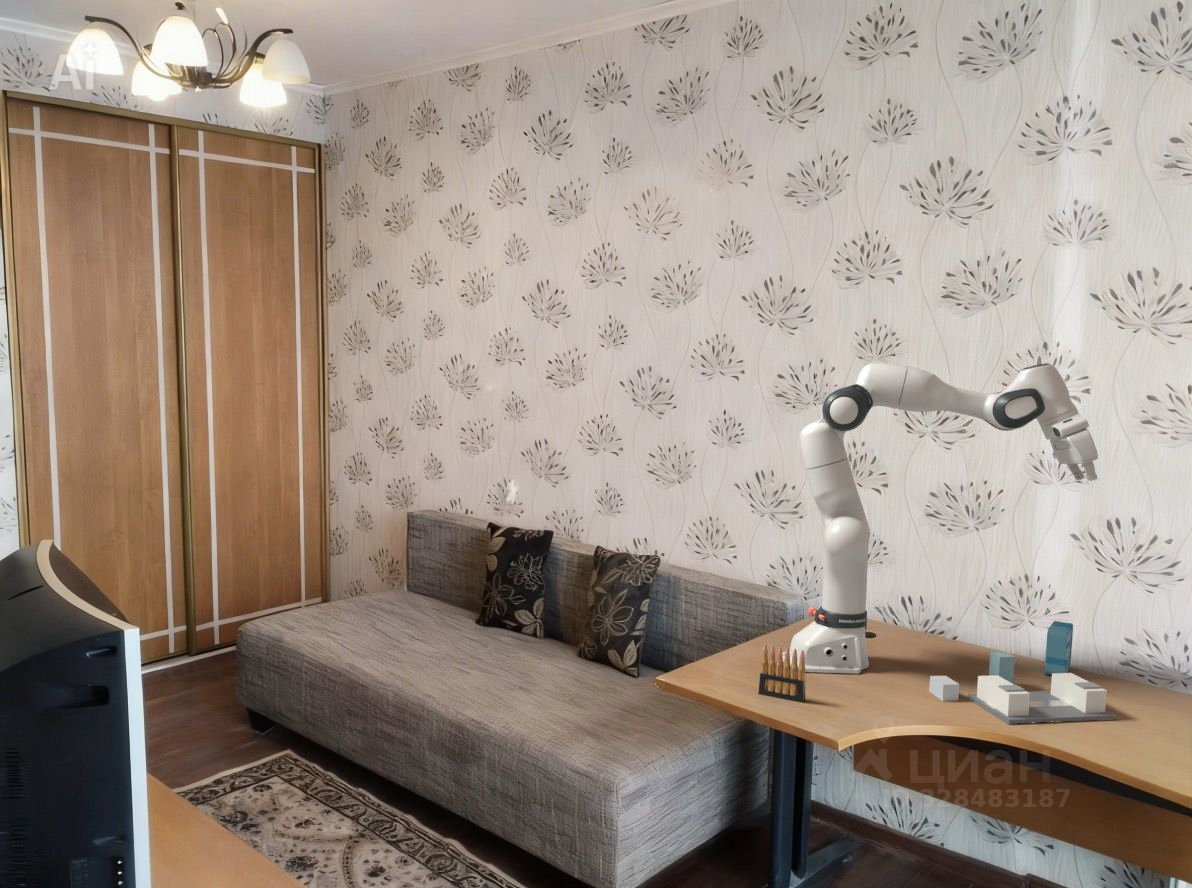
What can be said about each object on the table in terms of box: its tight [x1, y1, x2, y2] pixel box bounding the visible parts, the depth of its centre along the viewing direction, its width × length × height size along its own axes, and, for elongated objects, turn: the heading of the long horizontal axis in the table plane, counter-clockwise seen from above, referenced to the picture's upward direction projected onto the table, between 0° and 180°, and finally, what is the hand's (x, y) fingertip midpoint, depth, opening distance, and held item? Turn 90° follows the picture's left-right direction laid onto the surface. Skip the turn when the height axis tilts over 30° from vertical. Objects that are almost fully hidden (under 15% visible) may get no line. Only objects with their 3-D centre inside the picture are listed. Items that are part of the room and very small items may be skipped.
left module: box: [976, 675, 1030, 716], centre depth 210 cm, size 5×12×5 cm, turn 10°
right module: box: [1050, 672, 1108, 713], centre depth 213 cm, size 5×12×5 cm, turn 9°
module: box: [988, 651, 1016, 684], centre depth 226 cm, size 4×4×8 cm
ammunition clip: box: [757, 643, 806, 703], centre depth 214 cm, size 11×2×12 cm, turn 62°
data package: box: [1044, 620, 1074, 676], centre depth 238 cm, size 12×4×12 cm, turn 146°
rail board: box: [967, 690, 1116, 725], centre depth 212 cm, size 26×16×1 cm, turn 100°
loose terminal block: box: [928, 675, 960, 702], centre depth 218 cm, size 4×6×4 cm, turn 10°
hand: (1086, 479), depth 221 cm, fingers open, 8 cm apart
